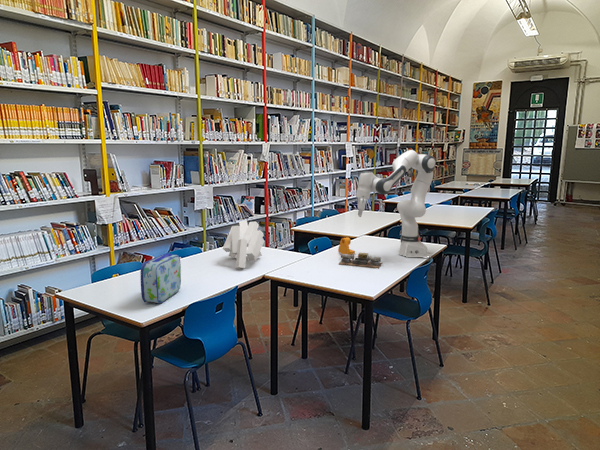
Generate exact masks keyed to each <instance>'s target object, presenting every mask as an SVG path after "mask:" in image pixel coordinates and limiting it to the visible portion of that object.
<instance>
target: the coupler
mask: <svg viewBox="0 0 600 450" xmlns="http://www.w3.org/2000/svg"><path fill="white" fill-rule="evenodd" d="M367 255H369V253H366V252H358V257H357V258H364V259H367Z"/></svg>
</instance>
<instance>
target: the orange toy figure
mask: <svg viewBox="0 0 600 450" xmlns="http://www.w3.org/2000/svg"><path fill="white" fill-rule="evenodd" d="M351 241H352V240H351V238H350V237H348V236H347V237H341V239H340V242H339V246H338V249H337V250H338V251H337V252H338V253H341V254H350V255H353V254H354V255H356V250H353V249H350V245H351ZM341 254H340V255H341Z"/></svg>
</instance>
